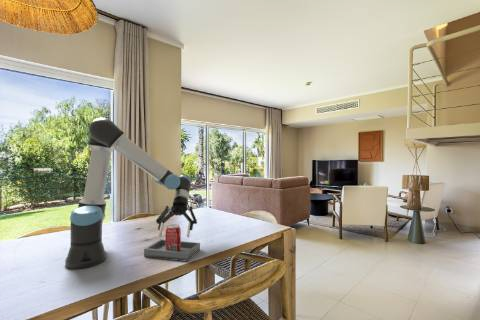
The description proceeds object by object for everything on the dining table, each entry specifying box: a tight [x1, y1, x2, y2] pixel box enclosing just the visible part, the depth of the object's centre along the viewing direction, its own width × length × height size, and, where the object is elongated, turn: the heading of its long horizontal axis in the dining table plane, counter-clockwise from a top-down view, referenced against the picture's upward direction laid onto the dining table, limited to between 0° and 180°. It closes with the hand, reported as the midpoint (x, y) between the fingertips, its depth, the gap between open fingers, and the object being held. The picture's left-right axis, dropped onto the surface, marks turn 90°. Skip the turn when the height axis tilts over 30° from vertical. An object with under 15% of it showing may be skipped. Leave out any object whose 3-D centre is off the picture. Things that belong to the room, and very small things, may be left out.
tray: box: [143, 238, 201, 262], centre depth 116 cm, size 22×14×4 cm, turn 77°
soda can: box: [164, 224, 182, 252], centre depth 116 cm, size 7×7×12 cm
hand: (173, 236), depth 116 cm, fingers open, 13 cm apart
